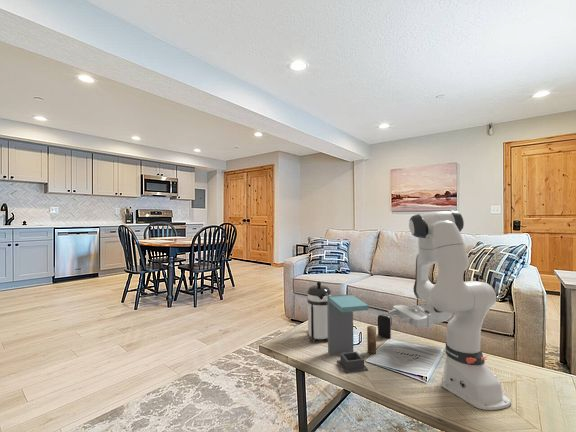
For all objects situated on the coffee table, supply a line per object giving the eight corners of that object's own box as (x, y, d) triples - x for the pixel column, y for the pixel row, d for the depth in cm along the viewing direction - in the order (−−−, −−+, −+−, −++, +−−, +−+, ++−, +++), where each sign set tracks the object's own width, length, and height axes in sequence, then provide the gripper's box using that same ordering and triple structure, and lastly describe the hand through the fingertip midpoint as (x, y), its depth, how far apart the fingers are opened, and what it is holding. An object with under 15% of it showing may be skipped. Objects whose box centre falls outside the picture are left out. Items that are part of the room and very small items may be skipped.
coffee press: (340, 337, 157) (340, 281, 157) (321, 346, 146) (320, 286, 146) (316, 328, 170) (315, 276, 169) (296, 336, 159) (295, 281, 158)
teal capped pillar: (369, 369, 125) (368, 305, 125) (342, 372, 122) (341, 307, 122) (351, 349, 142) (351, 294, 142) (328, 352, 140) (327, 295, 140)
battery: (392, 336, 157) (392, 315, 157) (390, 338, 154) (390, 317, 154) (379, 333, 162) (379, 312, 162) (377, 335, 159) (377, 314, 158)
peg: (377, 354, 138) (377, 328, 137) (370, 355, 137) (369, 329, 137) (373, 350, 141) (373, 325, 141) (366, 351, 141) (365, 326, 141)
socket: (368, 370, 124) (368, 360, 124) (345, 373, 122) (345, 363, 121) (357, 359, 133) (357, 350, 133) (336, 361, 131) (336, 352, 131)
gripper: (407, 301, 155) (383, 303, 152) (433, 315, 135) (406, 318, 132) (407, 313, 155) (383, 315, 152) (433, 329, 135) (406, 331, 132)
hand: (394, 316), depth 142 cm, fingers open, 8 cm apart
